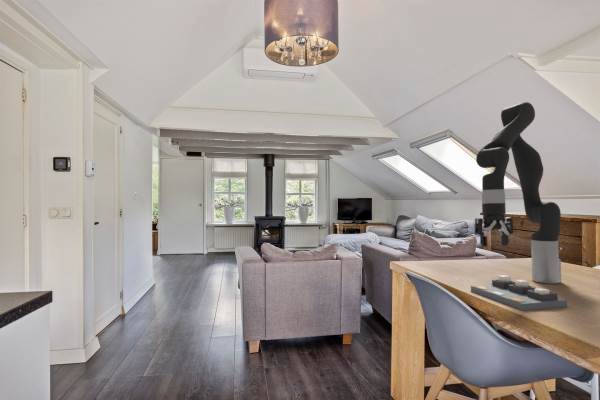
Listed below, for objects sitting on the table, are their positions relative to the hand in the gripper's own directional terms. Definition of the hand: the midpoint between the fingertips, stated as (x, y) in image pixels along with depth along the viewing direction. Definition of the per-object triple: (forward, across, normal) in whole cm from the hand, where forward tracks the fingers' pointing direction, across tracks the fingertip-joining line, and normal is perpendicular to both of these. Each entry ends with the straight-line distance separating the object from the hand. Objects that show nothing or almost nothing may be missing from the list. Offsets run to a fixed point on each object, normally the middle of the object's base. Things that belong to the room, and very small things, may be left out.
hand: (494, 245), depth 126 cm
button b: (+13, -4, +8) cm, 16 cm away
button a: (+13, -4, 0) cm, 14 cm away
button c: (+14, -4, +16) cm, 22 cm away
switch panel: (+17, -1, +8) cm, 19 cm away
